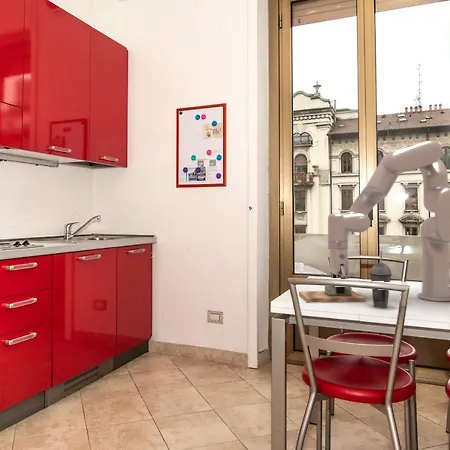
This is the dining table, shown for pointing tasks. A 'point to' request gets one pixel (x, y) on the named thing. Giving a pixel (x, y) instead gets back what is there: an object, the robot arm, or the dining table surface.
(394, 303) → the dining table surface
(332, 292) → the sanding block
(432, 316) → the dining table surface
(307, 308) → the dining table surface
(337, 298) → the board
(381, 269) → the beverage cup
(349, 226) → the robot arm
